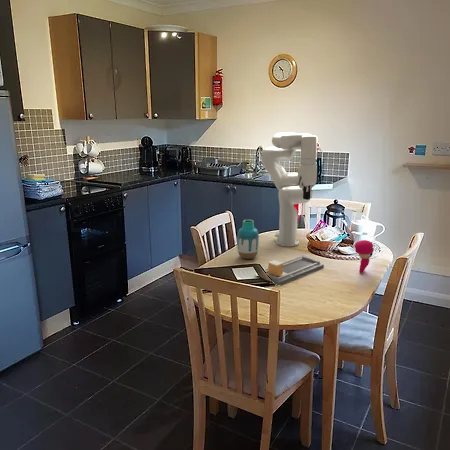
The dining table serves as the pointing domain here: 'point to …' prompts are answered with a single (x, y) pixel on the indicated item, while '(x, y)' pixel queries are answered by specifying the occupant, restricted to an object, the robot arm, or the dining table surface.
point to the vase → (248, 240)
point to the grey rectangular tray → (295, 269)
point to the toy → (364, 253)
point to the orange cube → (275, 267)
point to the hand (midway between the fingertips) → (306, 199)
